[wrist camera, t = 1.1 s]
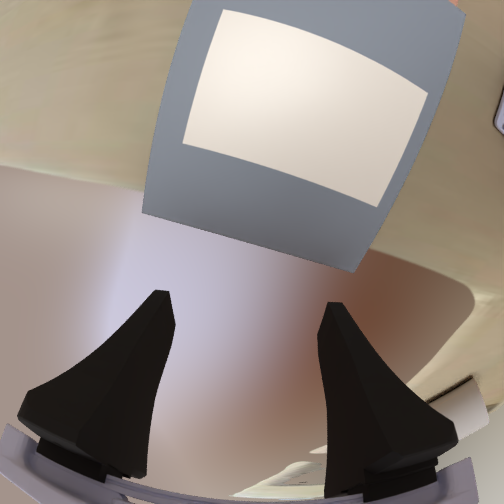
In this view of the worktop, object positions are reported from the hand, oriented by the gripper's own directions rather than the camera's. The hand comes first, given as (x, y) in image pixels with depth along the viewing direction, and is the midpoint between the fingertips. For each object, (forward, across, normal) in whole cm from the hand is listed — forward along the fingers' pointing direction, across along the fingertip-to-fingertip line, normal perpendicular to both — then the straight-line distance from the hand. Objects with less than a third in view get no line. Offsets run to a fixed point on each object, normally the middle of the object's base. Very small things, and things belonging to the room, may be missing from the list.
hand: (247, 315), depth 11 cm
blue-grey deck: (+9, -2, -9) cm, 13 cm away
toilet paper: (+10, -38, +31) cm, 50 cm away
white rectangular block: (+5, -2, -8) cm, 10 cm away
